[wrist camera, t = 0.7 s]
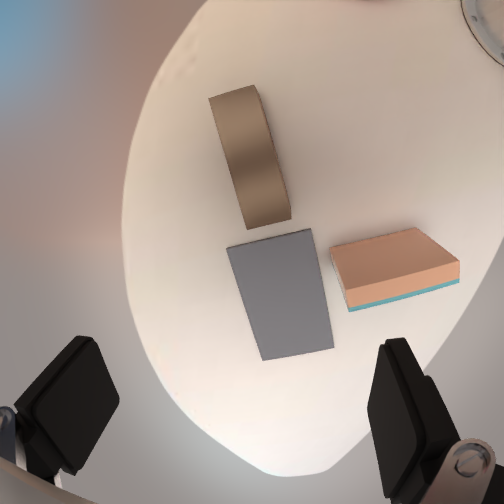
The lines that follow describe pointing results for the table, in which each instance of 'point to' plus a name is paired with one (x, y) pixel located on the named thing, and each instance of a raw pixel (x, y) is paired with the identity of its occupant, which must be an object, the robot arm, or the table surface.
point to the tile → (392, 268)
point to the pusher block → (251, 157)
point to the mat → (283, 294)
